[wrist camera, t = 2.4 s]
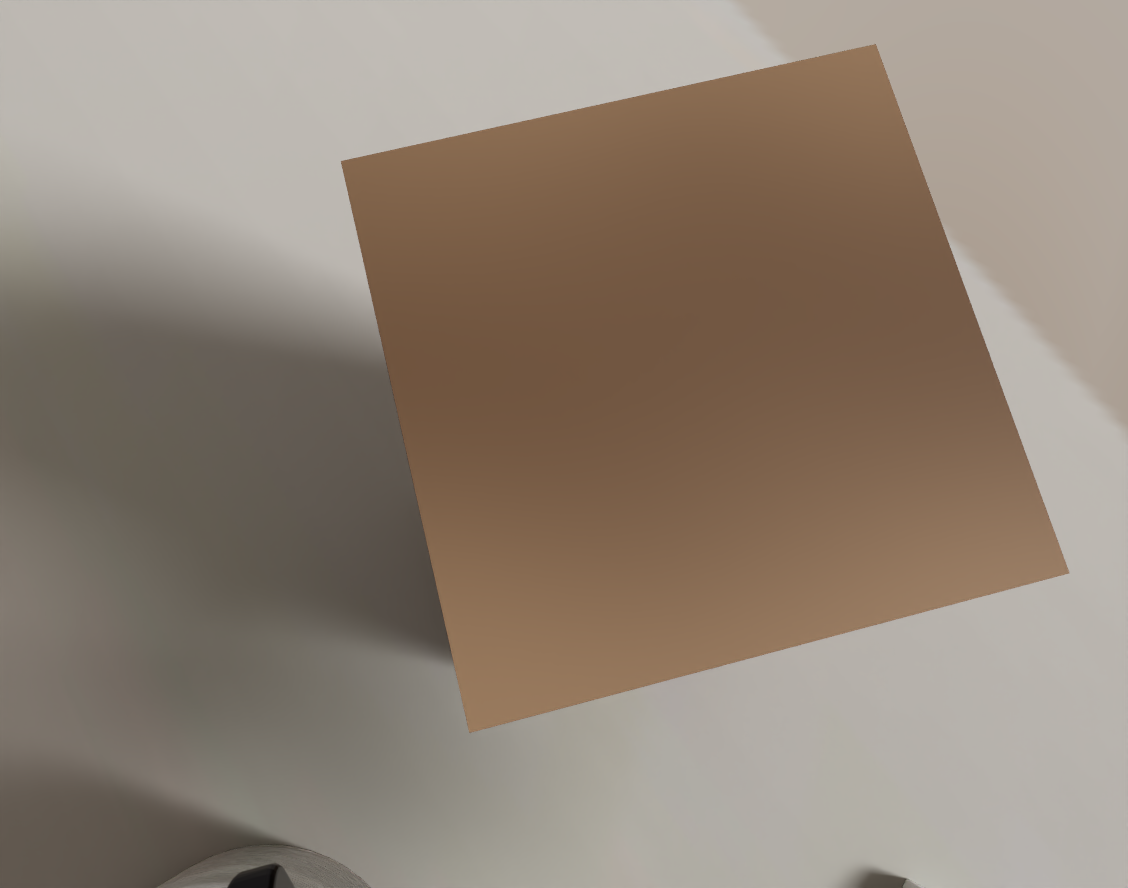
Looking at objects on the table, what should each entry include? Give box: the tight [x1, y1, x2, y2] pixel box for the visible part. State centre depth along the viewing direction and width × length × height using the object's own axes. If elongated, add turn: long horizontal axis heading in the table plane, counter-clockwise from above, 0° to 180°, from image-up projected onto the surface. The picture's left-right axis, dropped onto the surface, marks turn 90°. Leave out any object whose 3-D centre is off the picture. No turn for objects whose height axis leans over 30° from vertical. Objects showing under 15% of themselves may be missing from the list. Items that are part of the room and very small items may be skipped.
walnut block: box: [341, 44, 1069, 733], centre depth 14 cm, size 4×4×13 cm
